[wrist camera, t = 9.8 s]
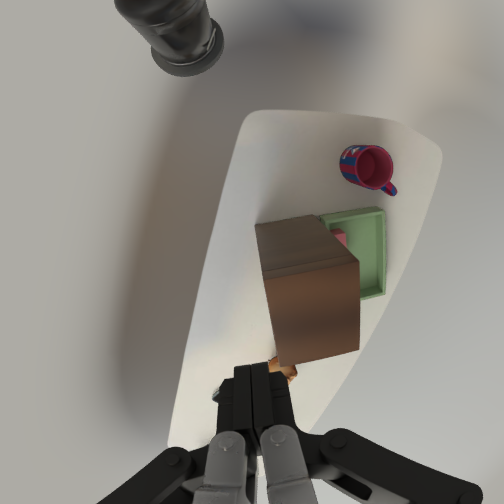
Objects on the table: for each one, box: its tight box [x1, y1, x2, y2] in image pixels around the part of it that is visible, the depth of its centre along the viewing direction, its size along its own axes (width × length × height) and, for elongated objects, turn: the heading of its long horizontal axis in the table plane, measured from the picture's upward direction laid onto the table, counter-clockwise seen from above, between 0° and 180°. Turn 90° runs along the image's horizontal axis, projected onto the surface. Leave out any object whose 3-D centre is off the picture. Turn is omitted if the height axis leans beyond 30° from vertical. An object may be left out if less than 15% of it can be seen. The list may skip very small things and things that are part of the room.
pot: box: [268, 356, 298, 385], centre depth 54 cm, size 6×8×6 cm
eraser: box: [330, 228, 347, 248], centre depth 48 cm, size 6×3×2 cm
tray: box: [320, 206, 386, 301], centre depth 49 cm, size 16×11×4 cm
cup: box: [340, 145, 397, 196], centre depth 42 cm, size 7×10×7 cm
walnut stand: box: [255, 215, 360, 367], centre depth 40 cm, size 12×10×21 cm
